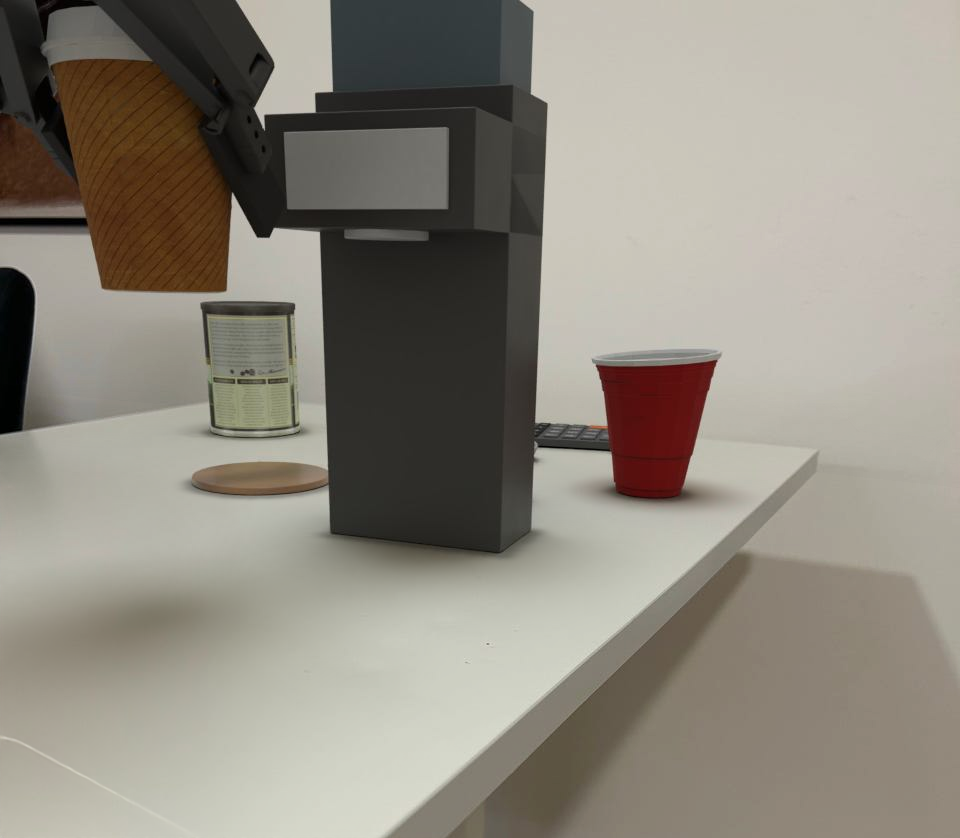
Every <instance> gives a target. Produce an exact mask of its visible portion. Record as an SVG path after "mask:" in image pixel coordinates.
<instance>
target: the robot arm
mask: <svg viewBox="0 0 960 838" xmlns="http://www.w3.org/2000/svg"><path fill="white" fill-rule="evenodd" d="M83 1H84V2H86V1H88V2H89V1H91V2H93V3H95V4H96V6H99V7H100V8H101V9H102V10H103V11H104V12H105V13H106V14H107V15H108V16H109V17H110V18H111V19H112V20H113V21H114V22H115V23H116V24H117V25H118V26H119V27H120V28H121V29H122V30H123V31H124V32H125V33H126V34H127V35H128V36H129V37H130V38H131V39H132V40H133V41H134V42H135V43H136V44H137V45H138V46H139V47H140V48H141V49H142V50H143V51H144V53H145V54H146V55H147V56H148V57H149V58H150V59H151V60H152V61H153V62H154V63H155V64H156V65H157V66H158V67H159V68H160V69H161V70H162V71H163V72H164V73H165V74H166V75H167V76H168V77H169V78H170V79H171V80H172V81H173V82H174V83H175V84H176V85H177V86H178V87H179V88H180V89H181V90H182V91H183V92H184V93H185V94H186V95H187V96H188V97H189V98H190V99H191V100H192V101H193V102H194V103H195V104H196V105H197V106H198V107H199V108H200V109H201V110H202V111H203V112H204V113H205V115H204V117H203V118H202V120H201V122H200V124H199V126H198V130H199V132H200V134H201V135H202V137H203V139H204V141H205V143H206V145H207V146H208V148H209V150H210V152H211V154H212V156H213V158H214V159H215V161H216V163H217V165H218V167H219V169H220V170H221V172H222V174H223V176H224V178H225V180H226V182H227V183H228V185H229V187H230V189H231V191H232V195H233V196H234V198H235V200H236V202H237V204H238V206H239V208H240V209H241V211H242V213H243V215H244V216H245V218H246V220H247V222H248V224H249V226H250V227H251V229H252V232H253V233H254V235H255V237H256V238H257V239H270V238H271V236H272V234H273V231H274V229H275V228H274V227H275V225H276V223H277V221H278V218H279V216H280V214H281V212H282V210H283V208H284V205H285V203H286V201H287V200H286V198H285V196H284V194H283V192H282V190H281V188H280V186H279V183H278V181H277V179H276V177H275V175H274V173H273V171H272V169H271V167H270V165H269V163H268V162H269V160H270V157H271V155H272V145H271V143H270V141H269V139H268V137H267V136H266V132H265V127H263V124H262V122H261V120H260V118H259V116H258V114H257V111H256V109H255V108H256V106H257V104H258V102H259V101H260V98H261V96H262V94H263V93H264V91H265V88H266V86H267V85H268V82H269V80H270V78H271V77H272V74H273V72H274V70H275V68H276V66H275V61H274V58H273V57H272V55H271V54H270V52H269V51H268V49H267V48H266V46H265V44H264V43H263V41H262V39H261V38H260V36H259V34H258V33H257V31H256V30H255V28H254V27H253V25H252V24H251V22H250V20H249V19H248V17H247V15H246V14H245V13H244V11H243V9H242V8H241V6H240V5H239V3H238V1H237V0H83ZM41 23H42V22H41V19H40V15H39V11H38V7H37V3H36V0H0V114H1V113H3V114H5V115H9V116H12V117H13V119H14V120H15V121H16V122H17V123H18V124H19V125H21V126H22V127H24V128H26V129H30V130H31V131H32V132H33V134H34V135H35V137H36V138H37V139H38V141H39V142H40V143H41V145H42V147H43V148H44V149H45V151H46V152H47V153H48V155H49V157H50V158H51V159H52V160H53V162H54V164H55V165H56V166H57V168H58V169H59V170H60V171H61V172H63V174H65V175H66V176H67V177H71V178H72V179H73V181H74V182H75V183H76V185H77V186H78V187H79V182H78V179H77V174H76V169H75V166H74V161H73V156H72V152H71V148H70V142H69V139H68V135H67V129H66V125H65V121H64V116H63V111H62V108H61V103H60V99H59V100H58V101H57V100H56V98H55V96H56V94H58V89H57V84H56V80H55V76H54V72H52V71H51V70H50V69H49V65H48V60H47V57H45V56H44V55H43V54H42V53H41V49H40V47H41V45H42V44H43V43H44V42H46V40H45V36H44V32H43V27H42V24H41ZM213 78H214V79H215V80H216V81H215V83H214V84H213Z"/></svg>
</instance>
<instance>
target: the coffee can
mask: <svg viewBox="0 0 960 838" xmlns="http://www.w3.org/2000/svg"><path fill="white" fill-rule="evenodd" d="M199 306H200V310H201V317H202V329H203V331H202V332H203V342H204V343H203V344H204V352H205V353H204V354H205V365H206V366H205V367H206V381H207V391H208V405H209V418H210V432H211V433H212V434H215V435H218V436H224V437H233V438H268V437H281V436H287V435H292V434H296V433H299V432H300V431H301V426H300V424H301V423H300V403H299V402H300V401H299V383H298V382H299V381H298V364H297V363H298V362H297V340H296V339H297V338H296V323H295V322H296V319H295V311H296V303H295V302H290V301H265V300H252V301H251V300H214V301H213V300H211V301H202V302H200V303H199Z"/></svg>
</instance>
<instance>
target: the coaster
mask: <svg viewBox="0 0 960 838" xmlns="http://www.w3.org/2000/svg"><path fill="white" fill-rule="evenodd" d="M191 482H192V485H193V486H194V487H195V488H197V489H201V490H204V491H206V492H212V493H219V494H226V495H227V494H229V495H241V496H242V495H245V496H250V495H251V496H254V495H255V496H257V495H258V496H262V495H282V494H291V493H299V492H305V491H310V490H314V489H318V488H321V487H325V486H326V485H327V484H329V483H328V469H326V468H324V467H322V466H317V465H313V464H309V463H300V462H291V461H290V462H289V461H245V462H233V463H226V464H218V465H213V466H209V467H205V468H202V469H199V470H197V471H195V472H194V473H192V475H191Z"/></svg>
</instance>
